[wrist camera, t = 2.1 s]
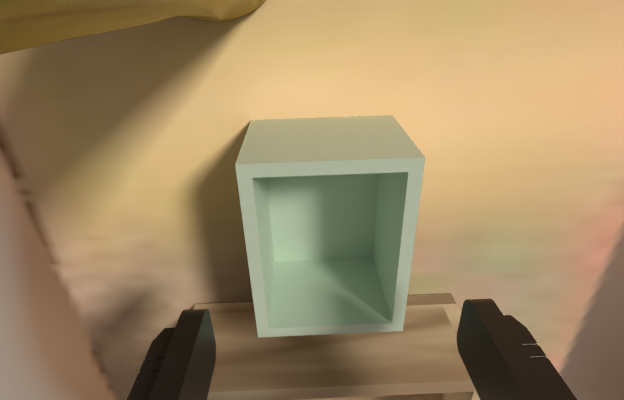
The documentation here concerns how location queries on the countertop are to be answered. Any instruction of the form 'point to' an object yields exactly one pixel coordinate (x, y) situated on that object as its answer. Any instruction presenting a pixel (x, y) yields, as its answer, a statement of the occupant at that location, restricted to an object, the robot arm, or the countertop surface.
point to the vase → (100, 17)
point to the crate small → (329, 223)
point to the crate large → (341, 358)
